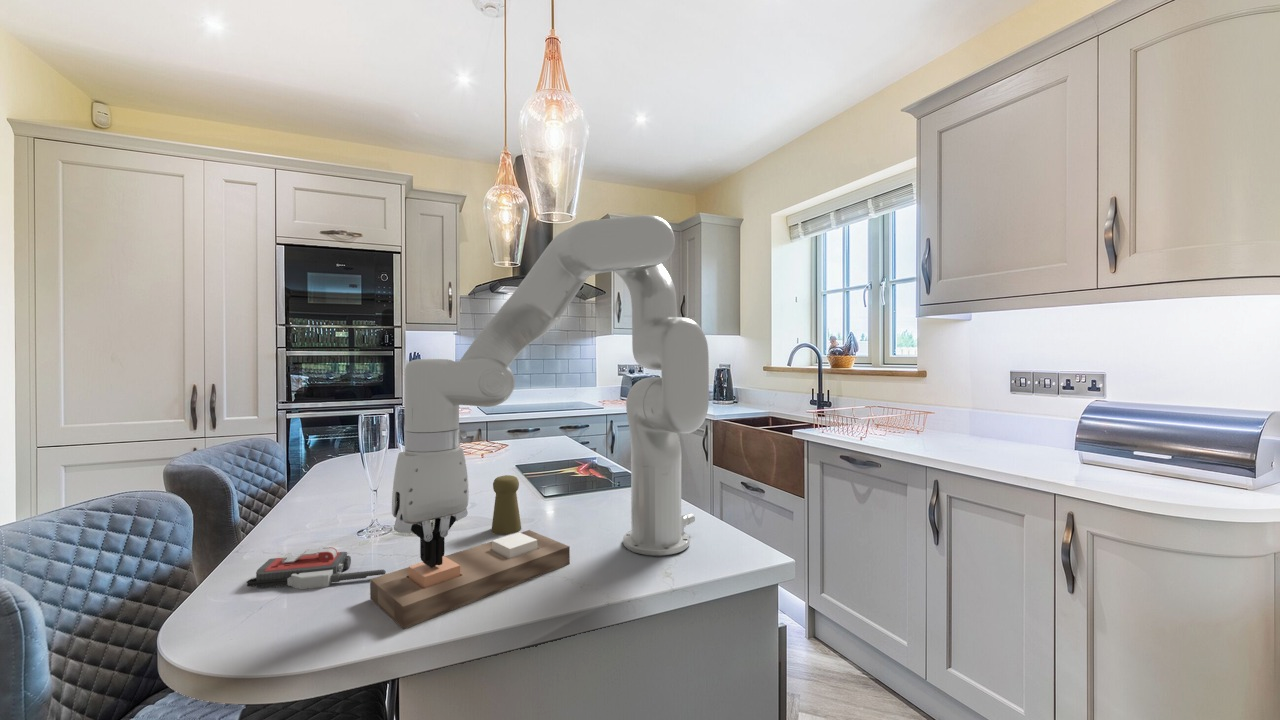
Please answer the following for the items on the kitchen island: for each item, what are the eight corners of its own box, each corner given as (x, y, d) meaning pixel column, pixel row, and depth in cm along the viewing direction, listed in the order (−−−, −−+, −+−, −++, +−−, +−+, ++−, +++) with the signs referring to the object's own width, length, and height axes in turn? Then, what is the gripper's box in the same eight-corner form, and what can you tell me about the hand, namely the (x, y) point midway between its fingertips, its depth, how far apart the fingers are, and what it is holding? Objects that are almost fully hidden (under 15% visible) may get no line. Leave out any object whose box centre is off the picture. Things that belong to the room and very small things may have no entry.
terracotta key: (443, 570, 80) (443, 555, 80) (460, 581, 76) (460, 565, 76) (408, 582, 76) (408, 566, 76) (424, 593, 72) (424, 577, 72)
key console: (529, 545, 96) (529, 530, 96) (569, 563, 88) (569, 546, 87) (370, 599, 75) (370, 579, 75) (403, 629, 67) (403, 606, 67)
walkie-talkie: (238, 599, 76) (384, 583, 81) (238, 570, 76) (383, 556, 81) (265, 574, 85) (395, 561, 90) (265, 548, 85) (395, 536, 90)
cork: (484, 531, 103) (484, 478, 103) (505, 522, 109) (505, 471, 109) (507, 536, 101) (506, 481, 100) (527, 527, 106) (527, 474, 106)
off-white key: (519, 545, 90) (519, 532, 90) (537, 553, 87) (537, 539, 87) (492, 554, 86) (492, 540, 86) (510, 563, 83) (509, 548, 83)
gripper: (466, 433, 84) (466, 543, 84) (369, 444, 73) (369, 571, 73) (490, 438, 79) (490, 556, 79) (390, 451, 68) (390, 588, 68)
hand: (432, 563), depth 76 cm, fingers closed
